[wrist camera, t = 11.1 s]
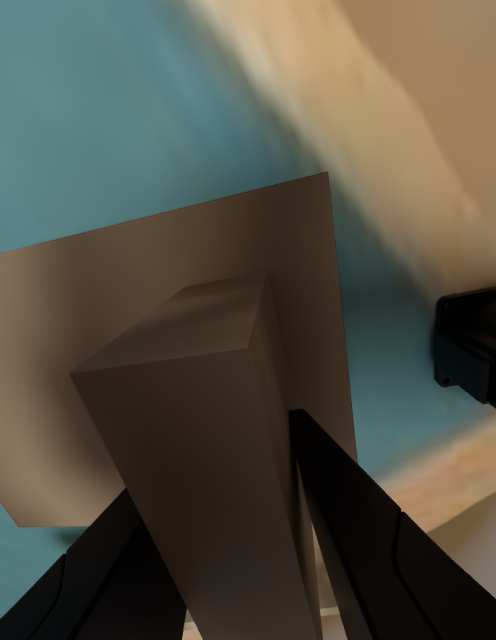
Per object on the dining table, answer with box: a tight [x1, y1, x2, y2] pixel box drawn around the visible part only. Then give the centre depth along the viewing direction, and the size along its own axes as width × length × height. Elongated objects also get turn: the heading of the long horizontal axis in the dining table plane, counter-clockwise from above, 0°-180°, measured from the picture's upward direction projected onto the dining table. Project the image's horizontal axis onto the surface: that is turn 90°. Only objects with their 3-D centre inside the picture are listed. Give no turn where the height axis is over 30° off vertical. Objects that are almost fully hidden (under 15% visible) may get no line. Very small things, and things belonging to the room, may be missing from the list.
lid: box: [0, 172, 358, 640], centre depth 9 cm, size 16×12×6 cm
